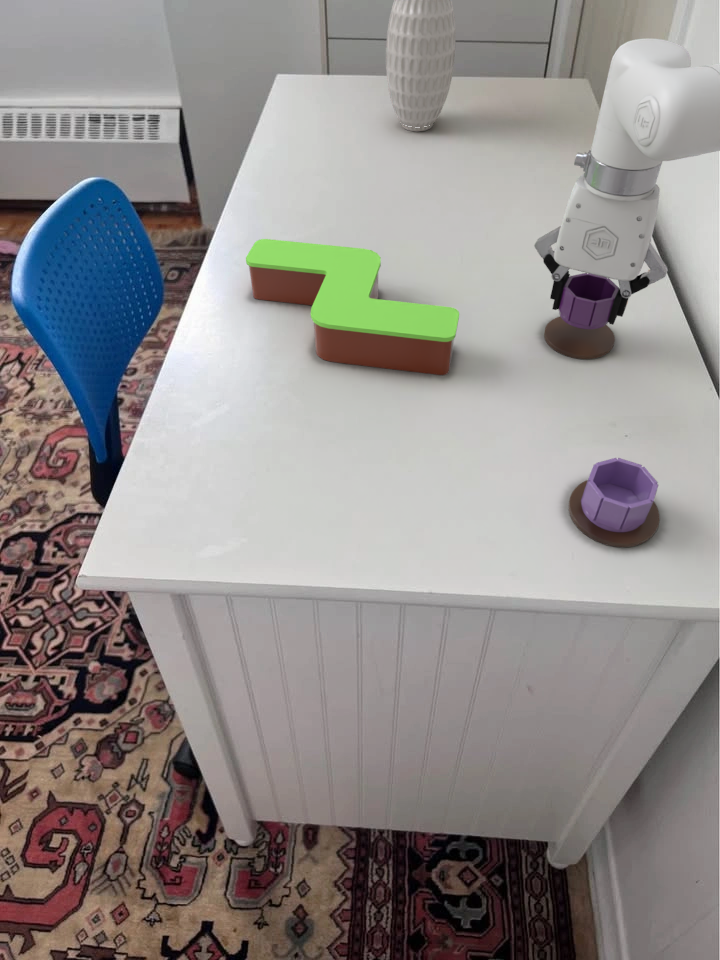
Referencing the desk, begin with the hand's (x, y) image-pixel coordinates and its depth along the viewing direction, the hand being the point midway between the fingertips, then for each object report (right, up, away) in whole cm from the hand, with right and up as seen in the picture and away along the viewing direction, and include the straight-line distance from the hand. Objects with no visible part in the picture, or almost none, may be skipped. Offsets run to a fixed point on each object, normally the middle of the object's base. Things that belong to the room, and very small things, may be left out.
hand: (585, 310), depth 91 cm
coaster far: (0, -3, +3) cm, 4 cm away
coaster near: (-3, -25, -17) cm, 30 cm away
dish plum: (0, 0, 0) cm, 1 cm away
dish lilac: (-3, -25, -18) cm, 30 cm away
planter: (-30, 0, +6) cm, 31 cm away
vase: (-17, +48, +51) cm, 72 cm away
